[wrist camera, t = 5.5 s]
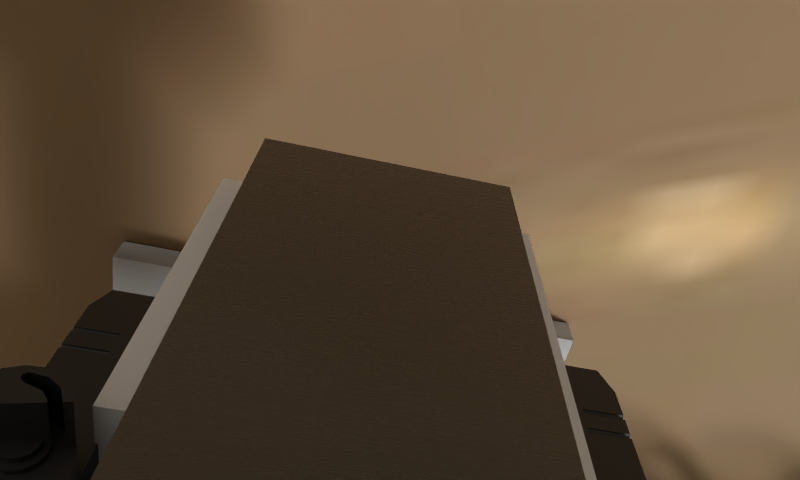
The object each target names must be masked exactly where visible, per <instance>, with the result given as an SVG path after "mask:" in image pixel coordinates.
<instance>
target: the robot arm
mask: <svg viewBox="0 0 800 480" xmlns="http://www.w3.org/2000/svg"><path fill="white" fill-rule="evenodd" d="M242 183H243V181H239V180H234V179H229V178H223V180H222V181H221V183H220V185H219V187H218V188H217V190H216V192H215V194H214V195H213V197H212V199H211V201H210V202H209V204H208V206H207V208H206V209H205V211H204V213H203V215H202V216H201V218H200V220H199V221H198V223H197V225H196V227H195V228H194V230H193V232H192V234H191V235H190V237H189V239H188V241H187V242H186V244H185V246H184V248H183V249H182V251H181V253H180V255H179V256H178V258H177V260H176V262H175V263H174V265H173V267H172V269H171V270H170V272H169V274H168V276H167V277H166V279H165V281H164V282H163V284H162V286H161V288H160V289H159V291H158V293H157V295H156V296H155V297H153V296H147V295H141V294H135V293H129V292H123V291H117V290H113V291H111V292H109V293H108V294H106V295H105V296H103V297H102V298H100V299H98V300H97V301H95V302H94V303H92V304H91V305H89V306H88V307H87V309H86V310H85V312H84V313H83V315H82V316H81V317H80V319H79V320H78V322H77V323H76V324H75V326H74V330H73V331H72V330H71V332H70V333H69V334H68V336H67V337H66V339H65V340H64V341H63V343H62V347H61V348H59V349H58V350H57V351H56V353H55V354H54V356H53V357H52V358H51V360H50V361H49V363H48V364H47V366H46V367H45V368H44V367H36V366H27V365H24V366H17V367H9V368H2V369H0V480H90V479H91V477H92V475H93V473H94V471H95V470H96V468H97V466H98V464H99V462H100V460H101V458H102V456H103V454H104V452H105V450H106V448H107V446H108V444H109V442H110V440H111V438H112V436H113V434H114V432H115V431H116V429H117V427H118V425H119V423H120V421H121V419H122V417H123V415H124V413H125V411H126V409H127V407H128V405H129V403H130V401H131V399H132V397H133V395H134V393H135V392H136V390H137V388H138V386H139V384H140V382H141V380H142V378H143V376H144V374H145V372H146V370H147V368H148V366H149V364H150V362H151V360H152V358H153V356H154V354H155V352H156V351H157V349H158V347H159V345H160V343H161V341H162V339H163V337H164V335H165V333H166V331H167V329H168V327H169V325H170V323H171V321H172V319H173V317H174V315H175V313H176V312H177V310H178V308H179V306H180V304H181V302H182V300H183V298H184V296H185V294H186V292H187V290H188V288H189V286H190V284H191V282H192V280H193V278H194V276H195V274H196V273H197V271H198V269H199V267H200V265H201V263H202V261H203V259H204V257H205V255H206V253H207V251H208V249H209V247H210V245H211V243H212V241H213V239H214V237H215V235H216V233H217V232H218V230H219V228H220V226H221V224H222V222H223V220H224V218H225V216H226V214H227V212H228V210H229V208H230V206H231V204H232V202H233V200H234V198H235V196H236V194H237V193H238V191H239V189H240V187H241V185H242ZM522 237H523V241H524V244H525V248H526V252H527V256H528V260H529V264H530V268H531V271H532V275H533V279H534V283H535V287H536V291H537V294H538V298H539V302H540V306H541V310H542V314H543V317H544V321H545V325H546V329H547V333H548V337H549V340H550V344H551V348H552V352H553V356H554V360H555V363H556V367H557V371H558V375H559V379H560V383H561V386H562V390H563V394H564V398H565V402H566V406H567V410H568V413H569V417H570V421H571V425H572V429H573V433H574V436H575V440H576V444H577V448H578V452H579V456H580V459H581V463H582V467H583V471H584V475H585V479H586V480H646V478H645V475H644V473H643V470H642V467H641V464H640V461H639V458H638V456H637V453H636V450H635V447H634V444H633V442H632V439H630V438H629V436H630V433H629V430H628V428H627V425H626V422H625V420H623V413H622V411H621V408H620V405H619V402H618V399H617V397H616V394H615V392H614V391H613V389H612V388H611V387H610V386H609V385H608V383H607V382H606V381H605V380H604V379H603V377H602V376H601V375H600V374H599V372H598V371H595V370H590V369H584V368H578V367H572V366H566V365H565V364H564V360H563V357H562V353H561V349H560V346H559V342H558V339H557V335H556V332H555V328H554V324H553V321H552V317H551V314H550V310H549V306H548V303H547V299H546V296H545V292H544V288H543V285H542V281H541V278H540V274H539V271H538V267H537V263H536V260H535V256H534V253H533V249H532V245H531V242H530V238H529V235H528V234H523V233H522Z"/></svg>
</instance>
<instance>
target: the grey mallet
mask: <svg viewBox="0 0 800 480" xmlns="http://www.w3.org/2000/svg"><path fill="white" fill-rule="evenodd" d="M90 480H586V479H585V475H584V471H583V467H582V463H581V459H580V456H579V452H578V448H577V444H576V440H575V436H574V433H573V429H572V425H571V421H570V417H569V413H568V410H567V406H566V402H565V398H564V394H563V390H562V386H561V383H560V379H559V375H558V371H557V367H556V363H555V360H554V356H553V352H552V348H551V344H550V340H549V337H548V333H547V329H546V325H545V321H544V317H543V314H542V310H541V306H540V302H539V298H538V294H537V291H536V287H535V283H534V279H533V275H532V271H531V268H530V264H529V260H528V256H527V252H526V248H525V244H524V241H523V237H522V233H521V229H520V225H519V221H518V218H517V214H516V210H515V206H514V202H513V198H512V195H511V191H510V187H506V186H501V185H496V184H491V183H486V182H481V181H476V180H471V179H466V178H461V177H456V176H451V175H446V174H441V173H436V172H431V171H426V170H421V169H416V168H411V167H406V166H401V165H396V164H391V163H386V162H381V161H376V160H371V159H366V158H361V157H356V156H351V155H346V154H341V153H336V152H331V151H326V150H321V149H316V148H311V147H306V146H301V145H296V144H291V143H286V142H282V141H277V140H272V139H267V138H265V140H264V142H263V144H262V146H261V148H260V150H259V152H258V154H257V155H256V157H255V159H254V161H253V163H252V165H251V167H250V169H249V171H248V173H247V175H246V177H245V179H244V181H243V183H242V185H241V187H240V189H239V191H238V193H237V194H236V196H235V198H234V200H233V202H232V204H231V206H230V208H229V210H228V212H227V214H226V216H225V218H224V220H223V222H222V224H221V226H220V228H219V230H218V232H217V233H216V235H215V237H214V239H213V241H212V243H211V245H210V247H209V249H208V251H207V253H206V255H205V257H204V259H203V261H202V263H201V265H200V267H199V269H198V271H197V273H196V274H195V276H194V278H193V280H192V282H191V284H190V286H189V288H188V290H187V292H186V294H185V296H184V298H183V300H182V302H181V304H180V306H179V308H178V310H177V312H176V313H175V315H174V317H173V319H172V321H171V323H170V325H169V327H168V329H167V331H166V333H165V335H164V337H163V339H162V341H161V343H160V345H159V347H158V349H157V351H156V352H155V354H154V356H153V358H152V360H151V362H150V364H149V366H148V368H147V370H146V372H145V374H144V376H143V378H142V380H141V382H140V384H139V386H138V388H137V390H136V392H135V393H134V395H133V397H132V399H131V401H130V403H129V405H128V407H127V409H126V411H125V413H124V415H123V417H122V419H121V421H120V423H119V425H118V427H117V429H116V431H115V432H114V434H113V436H112V438H111V440H110V442H109V444H108V446H107V448H106V450H105V452H104V454H103V456H102V458H101V460H100V462H99V464H98V466H97V468H96V470H95V471H94V473H93V475H92V477H91V479H90Z"/></svg>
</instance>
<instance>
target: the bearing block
mask: <svg viewBox="0 0 800 480" xmlns="http://www.w3.org/2000/svg"><path fill="white" fill-rule="evenodd" d="M180 253H181V252H179V251H174V250H168V249H163V248H158V247H152V246H147V245H141V244H136V243H131V242H125V241H124V242H123V243H122V244H121V246H120V247H119V249H118V250H117V251H116V253H115V254H114V255H113V257H112V258H113V290H117V291H123V292H129V293H135V294H141V295H147V296H153V297H155V296H156V295H157V293H158V291H159V289H160V288H161V286H162V284H163V282H164V281H165V279H166V277H167V276H168V274H169V272H170V270H171V269H172V267H173V265H174V263H175V262H176V260H177V258H178V256H179V255H180ZM552 321H553V320H552ZM553 324H554V328H555V332H556V335H557V339H558V342H559V346H560V349H561V353H562V357H563V360H564V361H565V359H566V357H567V354H568V352H569V350H570V347H571V345H572V343H573V338H572V335H571V331H570V328H569V325H568V323H564V322H559V321H553Z"/></svg>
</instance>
